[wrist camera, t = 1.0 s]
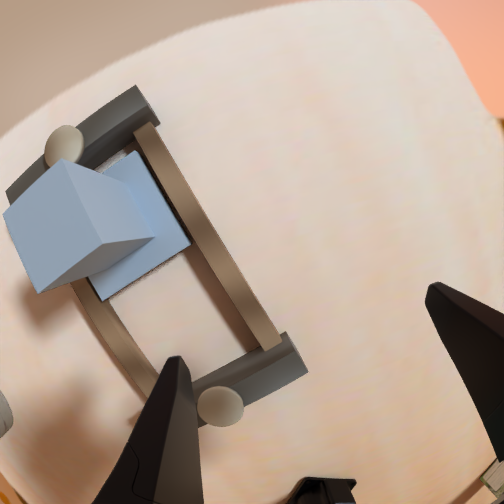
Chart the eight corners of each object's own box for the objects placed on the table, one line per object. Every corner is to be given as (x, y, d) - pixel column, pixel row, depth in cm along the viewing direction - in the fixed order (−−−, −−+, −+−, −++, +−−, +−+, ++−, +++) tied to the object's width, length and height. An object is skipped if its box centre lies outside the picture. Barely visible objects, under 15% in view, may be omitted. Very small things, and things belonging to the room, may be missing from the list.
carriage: (192, 243, 22) (156, 258, 12) (109, 296, 22) (36, 340, 12) (140, 154, 22) (78, 107, 11) (64, 211, 22) (-24, 206, 11)
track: (301, 356, 24) (314, 381, 19) (171, 421, 24) (162, 452, 19) (146, 99, 22) (130, 75, 17) (30, 189, 21) (-2, 184, 17)
